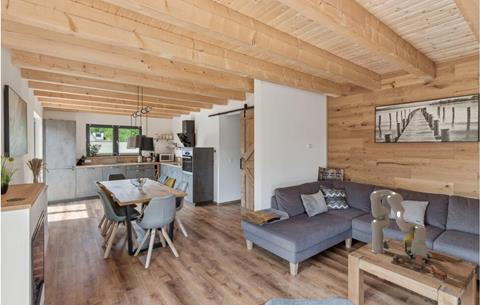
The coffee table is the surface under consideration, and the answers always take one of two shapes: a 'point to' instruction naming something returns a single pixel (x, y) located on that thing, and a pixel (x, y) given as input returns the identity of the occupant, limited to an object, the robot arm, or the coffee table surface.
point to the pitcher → (408, 237)
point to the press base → (406, 264)
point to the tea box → (409, 244)
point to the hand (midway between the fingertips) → (418, 261)
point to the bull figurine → (438, 273)
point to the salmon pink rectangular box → (418, 262)
